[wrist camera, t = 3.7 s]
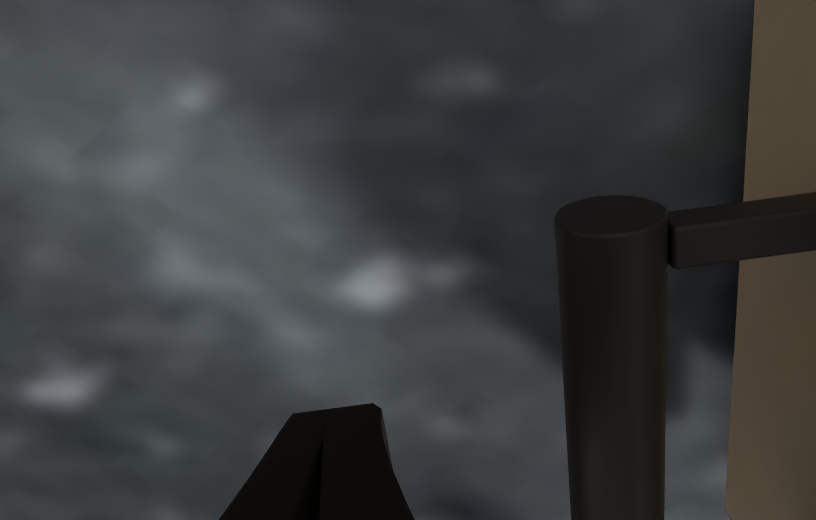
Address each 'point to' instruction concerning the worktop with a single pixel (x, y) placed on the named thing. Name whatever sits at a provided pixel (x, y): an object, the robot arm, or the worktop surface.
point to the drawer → (755, 318)
